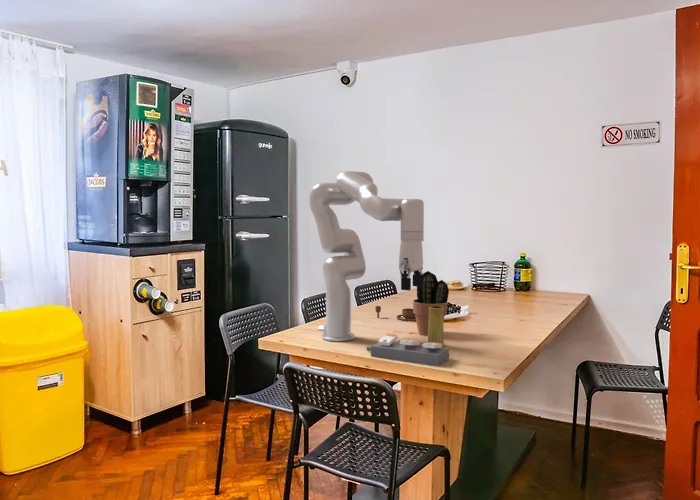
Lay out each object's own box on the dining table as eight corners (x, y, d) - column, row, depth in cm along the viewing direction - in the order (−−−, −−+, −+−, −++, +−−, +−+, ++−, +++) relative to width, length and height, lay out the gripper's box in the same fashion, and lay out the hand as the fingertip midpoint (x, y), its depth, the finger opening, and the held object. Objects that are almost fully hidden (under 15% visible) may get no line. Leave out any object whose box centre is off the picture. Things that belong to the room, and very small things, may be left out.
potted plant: (420, 338, 207) (421, 273, 205) (407, 331, 220) (407, 270, 218) (453, 336, 210) (453, 272, 208) (438, 329, 223) (438, 268, 222)
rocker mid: (399, 343, 178) (400, 339, 178) (408, 343, 184) (408, 339, 184) (410, 345, 176) (411, 341, 176) (419, 344, 182) (419, 340, 182)
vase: (442, 343, 199) (442, 305, 198) (445, 347, 193) (446, 308, 192) (425, 343, 199) (426, 305, 198) (428, 348, 193) (429, 308, 192)
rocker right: (422, 346, 174) (422, 342, 174) (430, 345, 180) (430, 341, 180) (434, 348, 172) (434, 344, 172) (441, 347, 178) (441, 343, 178)
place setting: (409, 325, 233) (409, 311, 233) (373, 319, 246) (373, 306, 246) (431, 319, 247) (431, 306, 246) (395, 313, 260) (395, 301, 259)
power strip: (360, 354, 184) (360, 343, 184) (373, 348, 193) (373, 337, 192) (438, 366, 170) (438, 353, 170) (449, 358, 179) (449, 346, 178)
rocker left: (378, 344, 182) (378, 340, 182) (387, 336, 188) (387, 333, 188) (389, 345, 180) (388, 342, 180) (397, 338, 186) (397, 334, 186)
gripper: (411, 235, 187) (411, 284, 188) (390, 237, 172) (390, 290, 173) (432, 235, 183) (431, 285, 185) (412, 238, 168) (412, 292, 170)
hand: (411, 288), depth 179 cm, fingers open, 9 cm apart
